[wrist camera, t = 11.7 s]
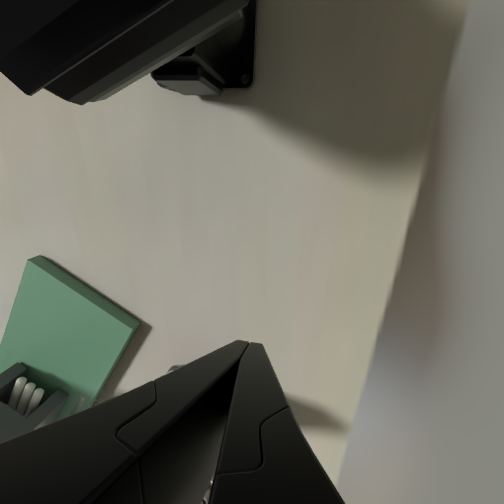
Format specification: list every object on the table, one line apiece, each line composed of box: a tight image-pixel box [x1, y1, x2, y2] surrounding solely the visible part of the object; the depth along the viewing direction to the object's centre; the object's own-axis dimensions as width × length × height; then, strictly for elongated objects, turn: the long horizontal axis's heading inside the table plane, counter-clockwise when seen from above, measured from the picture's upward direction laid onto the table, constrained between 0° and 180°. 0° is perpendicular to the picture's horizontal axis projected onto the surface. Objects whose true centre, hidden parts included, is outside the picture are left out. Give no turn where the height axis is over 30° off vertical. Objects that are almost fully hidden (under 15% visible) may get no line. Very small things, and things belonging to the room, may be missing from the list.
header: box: [7, 377, 44, 418], centre depth 29 cm, size 8×6×3 cm
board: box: [0, 255, 140, 421], centre depth 29 cm, size 19×11×1 cm, turn 147°
